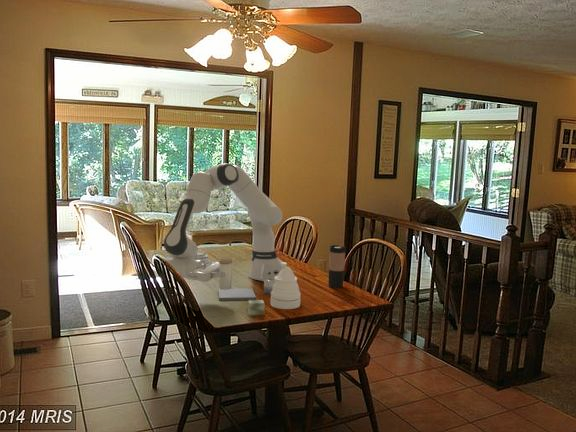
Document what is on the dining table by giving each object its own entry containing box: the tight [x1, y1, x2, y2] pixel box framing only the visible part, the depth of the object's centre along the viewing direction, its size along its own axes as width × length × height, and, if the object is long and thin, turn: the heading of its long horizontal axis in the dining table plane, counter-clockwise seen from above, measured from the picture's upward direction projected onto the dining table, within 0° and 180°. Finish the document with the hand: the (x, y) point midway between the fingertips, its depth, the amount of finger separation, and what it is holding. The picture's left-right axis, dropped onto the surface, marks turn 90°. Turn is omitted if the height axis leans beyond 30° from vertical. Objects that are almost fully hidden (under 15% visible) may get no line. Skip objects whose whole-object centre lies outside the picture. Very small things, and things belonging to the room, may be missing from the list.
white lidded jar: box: [218, 257, 233, 290], centre depth 215 cm, size 5×5×12 cm
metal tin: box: [263, 278, 276, 295], centre depth 236 cm, size 6×6×6 cm
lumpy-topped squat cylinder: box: [195, 250, 209, 260], centre depth 278 cm, size 10×13×9 cm
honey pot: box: [270, 261, 302, 310], centre depth 219 cm, size 13×13×18 cm
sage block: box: [247, 299, 265, 316], centre depth 206 cm, size 6×4×5 cm, turn 101°
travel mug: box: [327, 244, 346, 289], centre depth 250 cm, size 8×8×20 cm
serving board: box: [217, 287, 257, 301], centre depth 230 cm, size 16×14×1 cm
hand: (227, 273), depth 214 cm, fingers closed on white lidded jar, 5 cm apart
